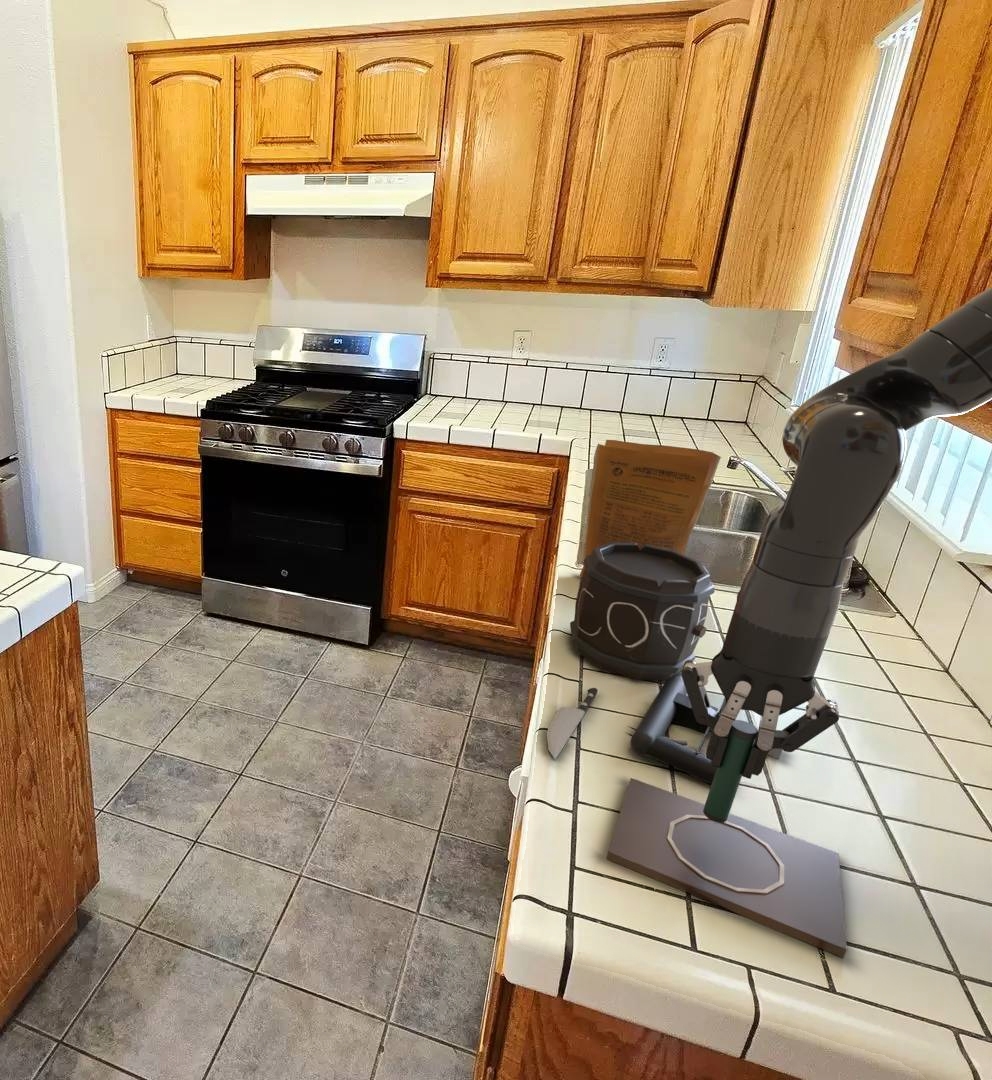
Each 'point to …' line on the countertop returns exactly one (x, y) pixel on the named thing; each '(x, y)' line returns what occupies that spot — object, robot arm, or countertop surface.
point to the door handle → (672, 751)
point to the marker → (730, 771)
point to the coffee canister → (640, 610)
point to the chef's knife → (567, 723)
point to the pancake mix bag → (646, 494)
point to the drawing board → (733, 864)
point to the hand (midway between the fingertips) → (731, 767)
